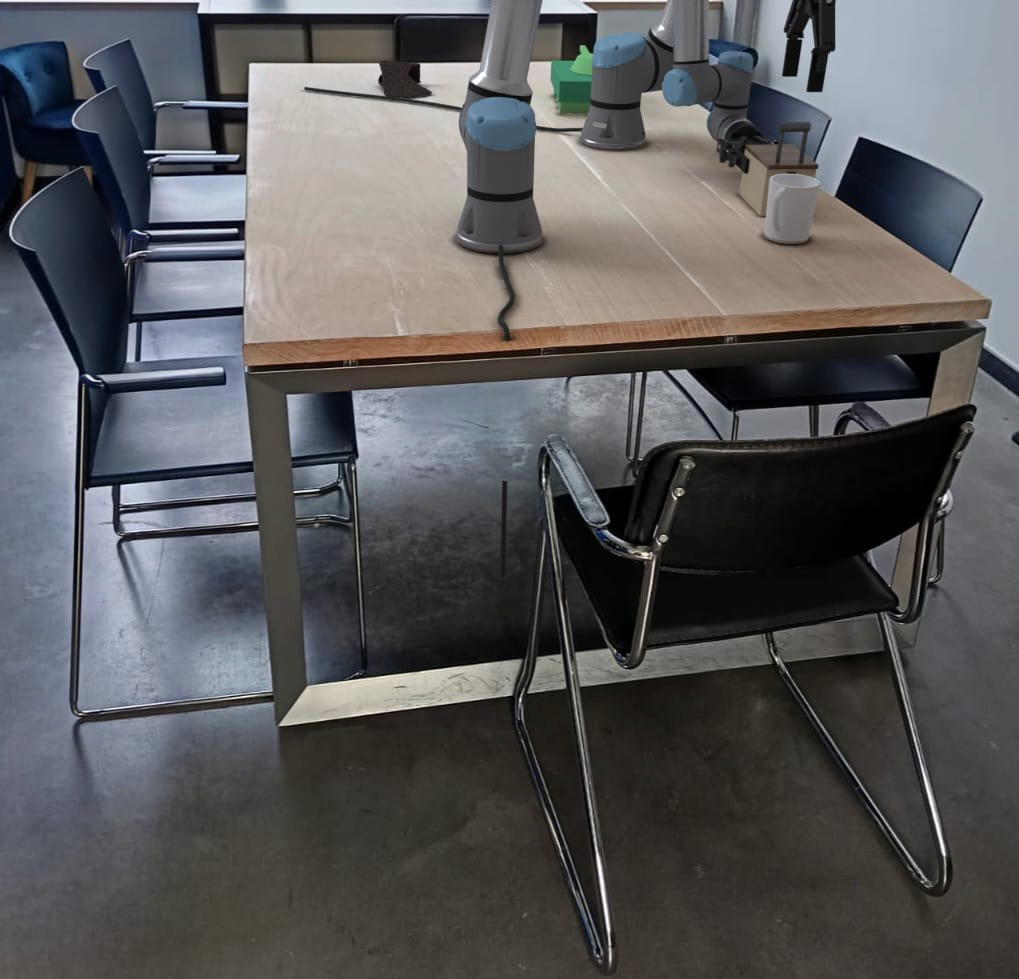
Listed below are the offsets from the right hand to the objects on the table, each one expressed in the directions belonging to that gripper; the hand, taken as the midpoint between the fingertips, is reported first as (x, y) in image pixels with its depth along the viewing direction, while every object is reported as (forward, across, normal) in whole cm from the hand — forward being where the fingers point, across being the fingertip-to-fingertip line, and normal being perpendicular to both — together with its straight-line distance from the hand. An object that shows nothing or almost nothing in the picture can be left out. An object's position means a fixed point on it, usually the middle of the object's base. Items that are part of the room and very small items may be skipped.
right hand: (772, 166), depth 217 cm
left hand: (+9, 0, +17) cm, 19 cm away
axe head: (-103, +71, -7) cm, 125 cm away
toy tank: (-89, +22, -7) cm, 92 cm away
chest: (+3, 0, -7) cm, 7 cm away
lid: (+4, 0, +2) cm, 4 cm away
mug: (+24, +5, -7) cm, 25 cm away
